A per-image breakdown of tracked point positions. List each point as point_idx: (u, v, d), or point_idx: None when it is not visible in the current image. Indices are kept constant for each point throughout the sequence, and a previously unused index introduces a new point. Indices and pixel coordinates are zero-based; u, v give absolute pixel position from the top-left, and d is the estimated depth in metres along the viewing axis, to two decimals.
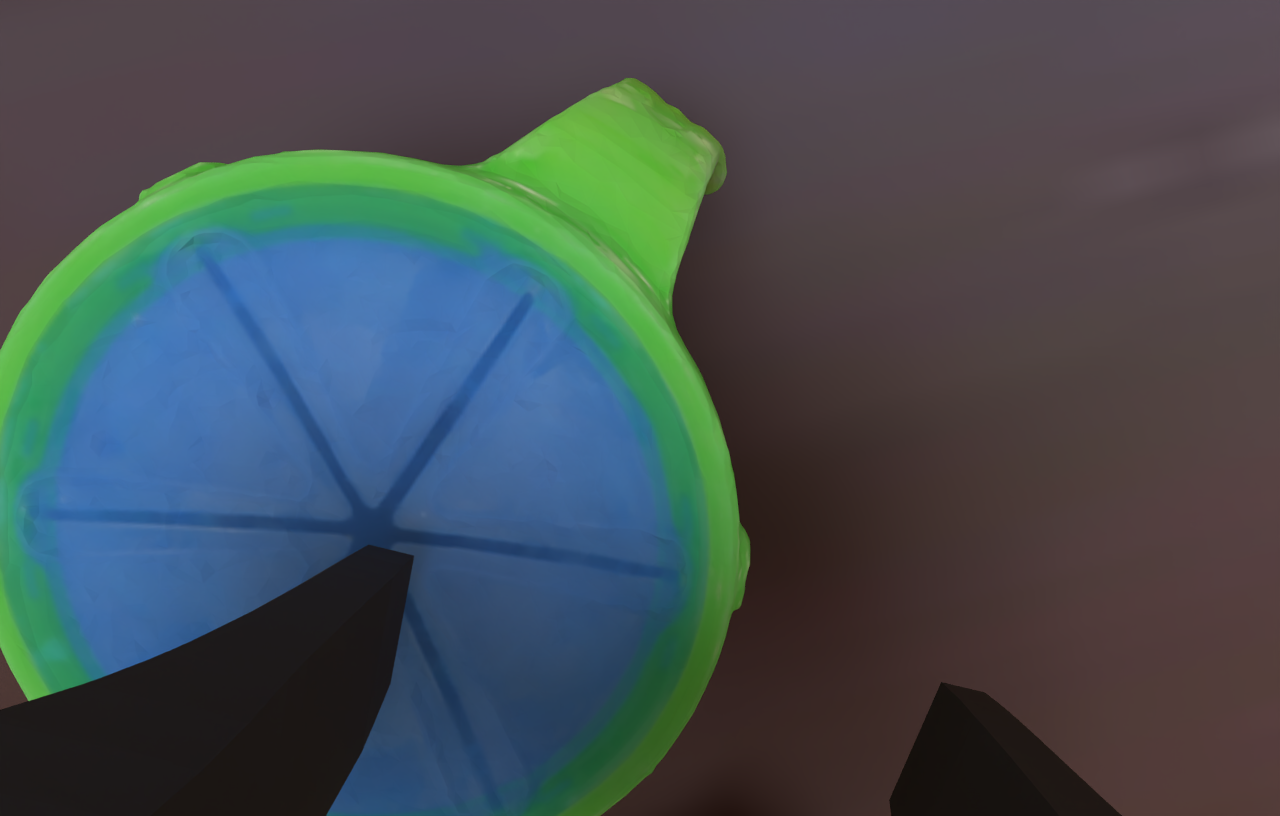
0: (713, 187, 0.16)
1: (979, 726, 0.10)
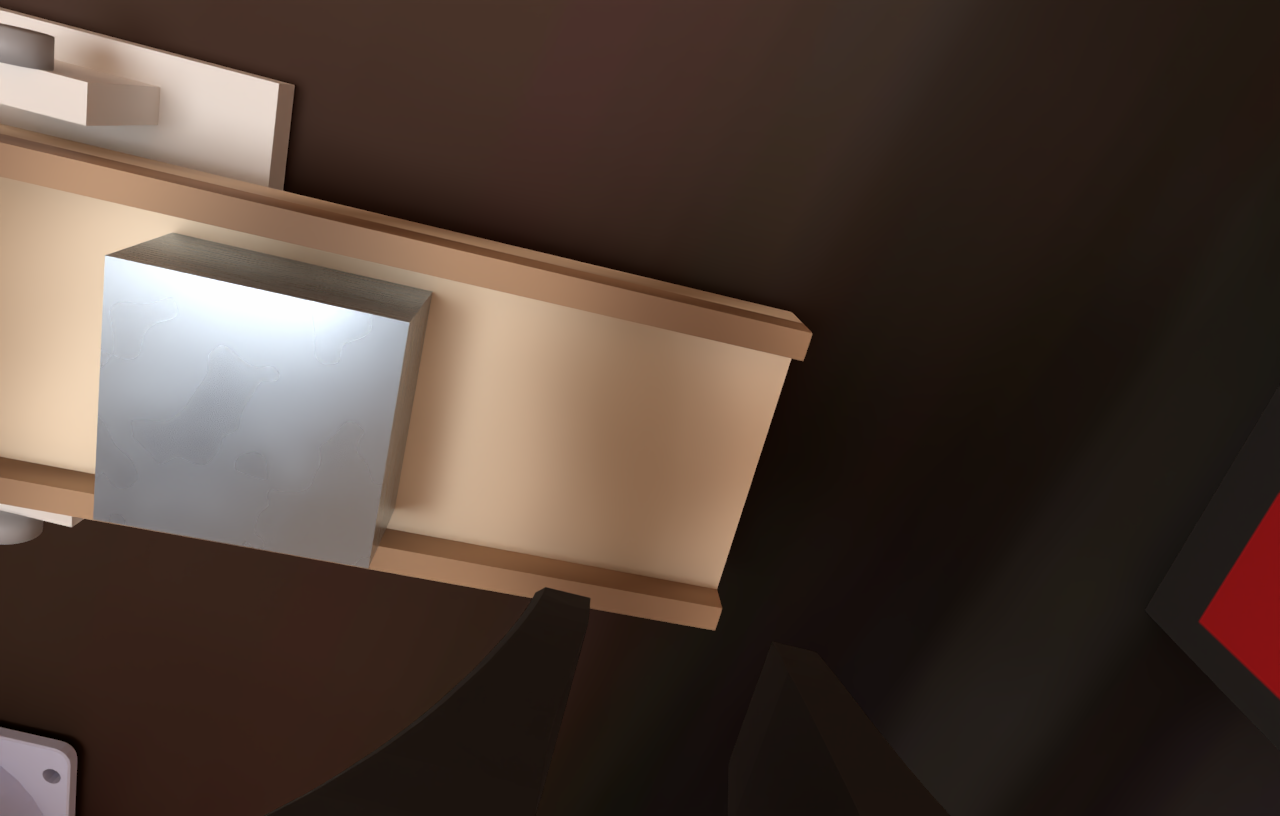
0: None
1: (791, 681, 0.10)
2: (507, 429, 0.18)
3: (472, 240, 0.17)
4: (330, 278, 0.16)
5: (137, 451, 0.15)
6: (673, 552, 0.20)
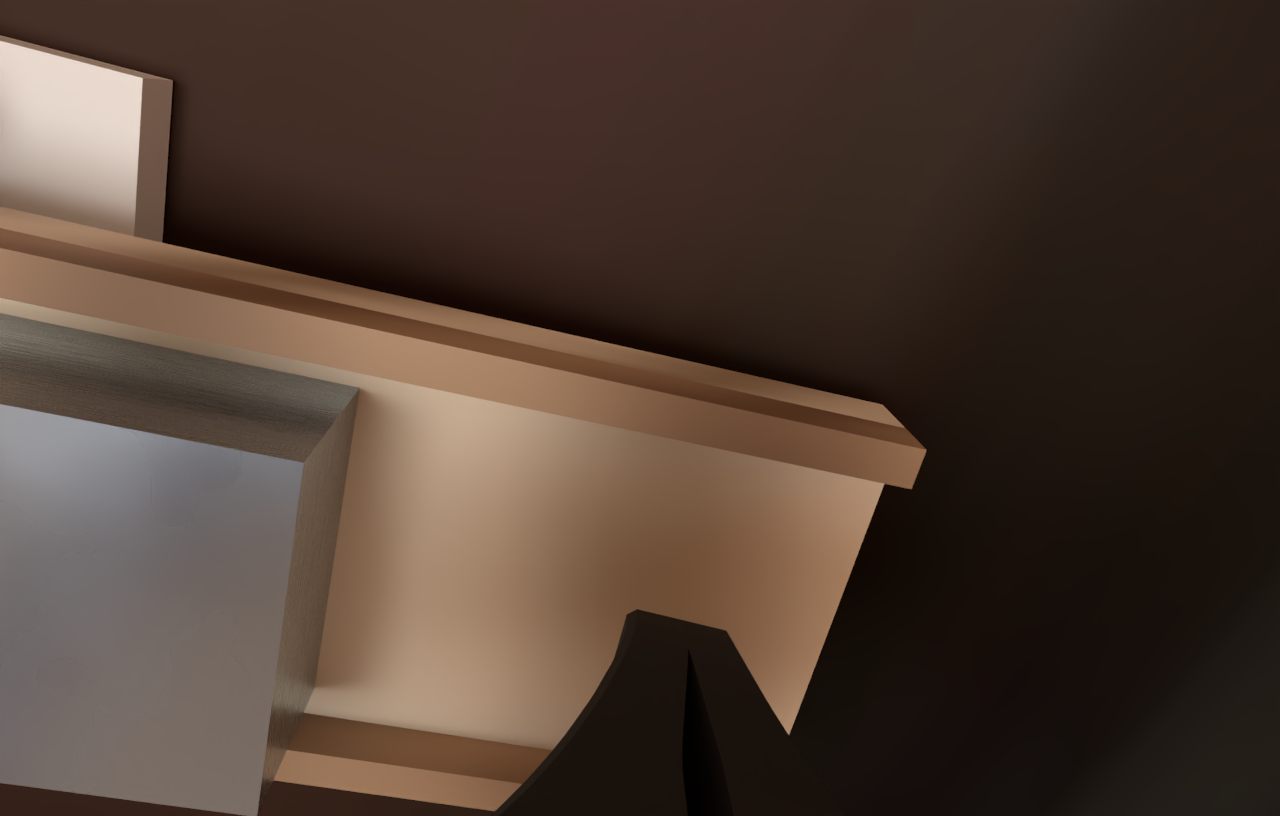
0: None
1: (690, 657, 0.10)
2: (474, 578, 0.13)
3: (420, 310, 0.12)
4: (195, 376, 0.10)
5: None
6: None
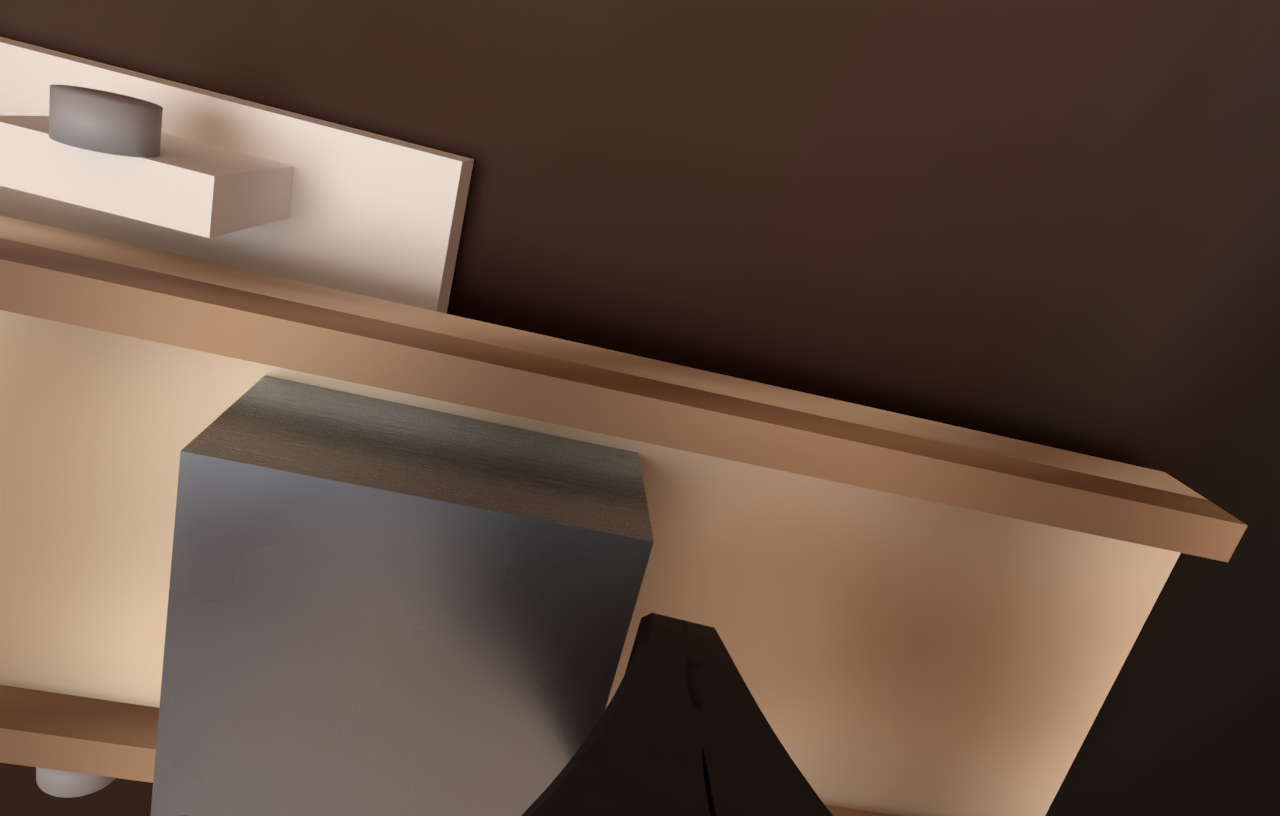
0: None
1: None
2: (782, 645, 0.13)
3: (753, 391, 0.12)
4: (504, 447, 0.11)
5: (221, 730, 0.10)
6: (984, 792, 0.14)
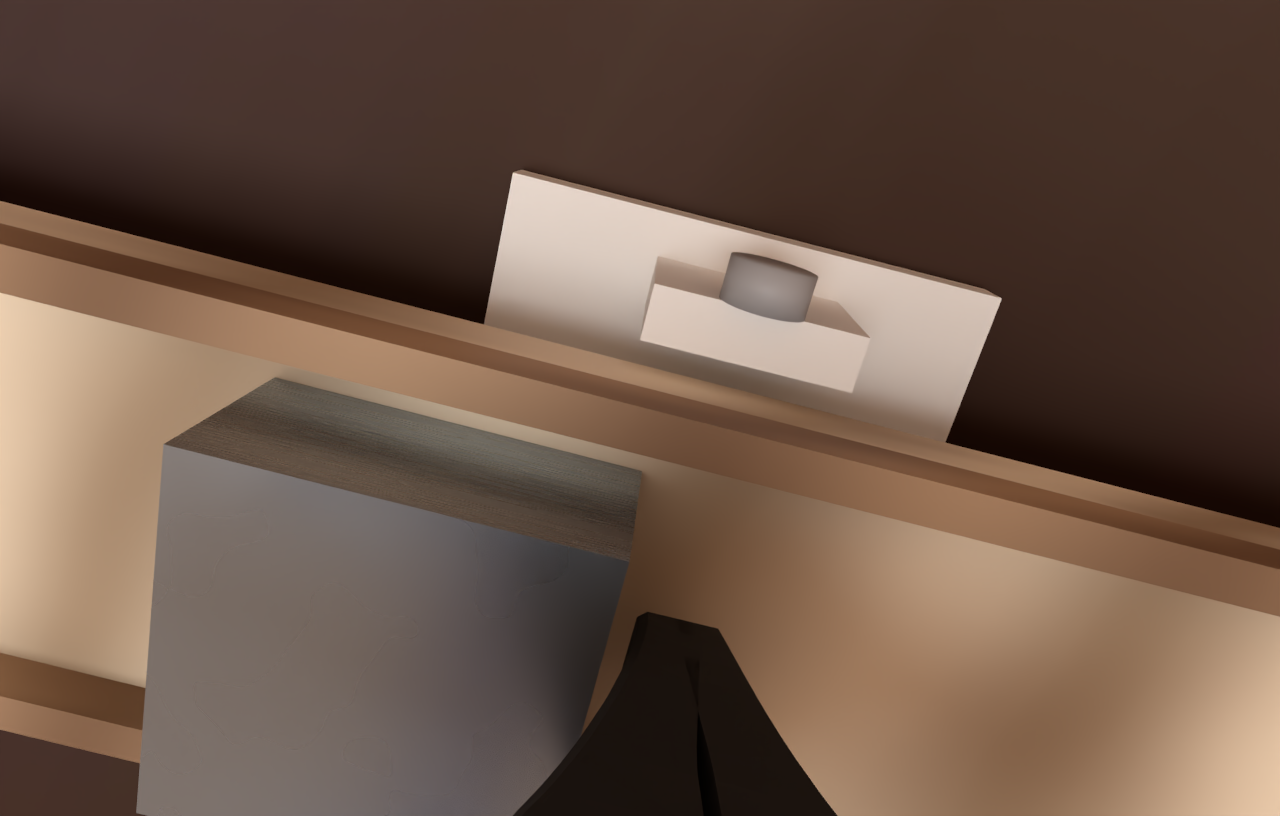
0: None
1: None
2: None
3: None
4: (497, 458, 0.11)
5: (202, 725, 0.10)
6: None
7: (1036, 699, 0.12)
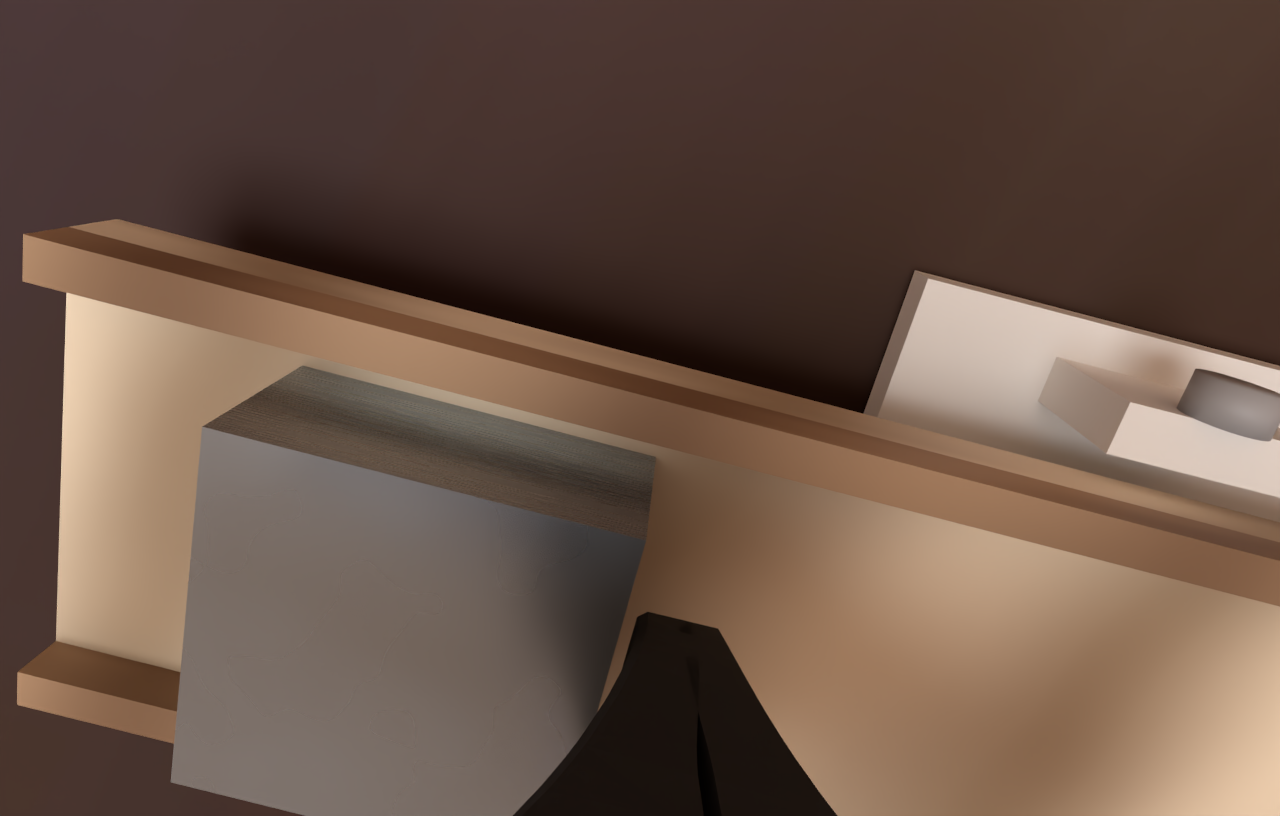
0: None
1: None
2: None
3: None
4: (517, 443, 0.11)
5: (235, 697, 0.10)
6: None
7: None
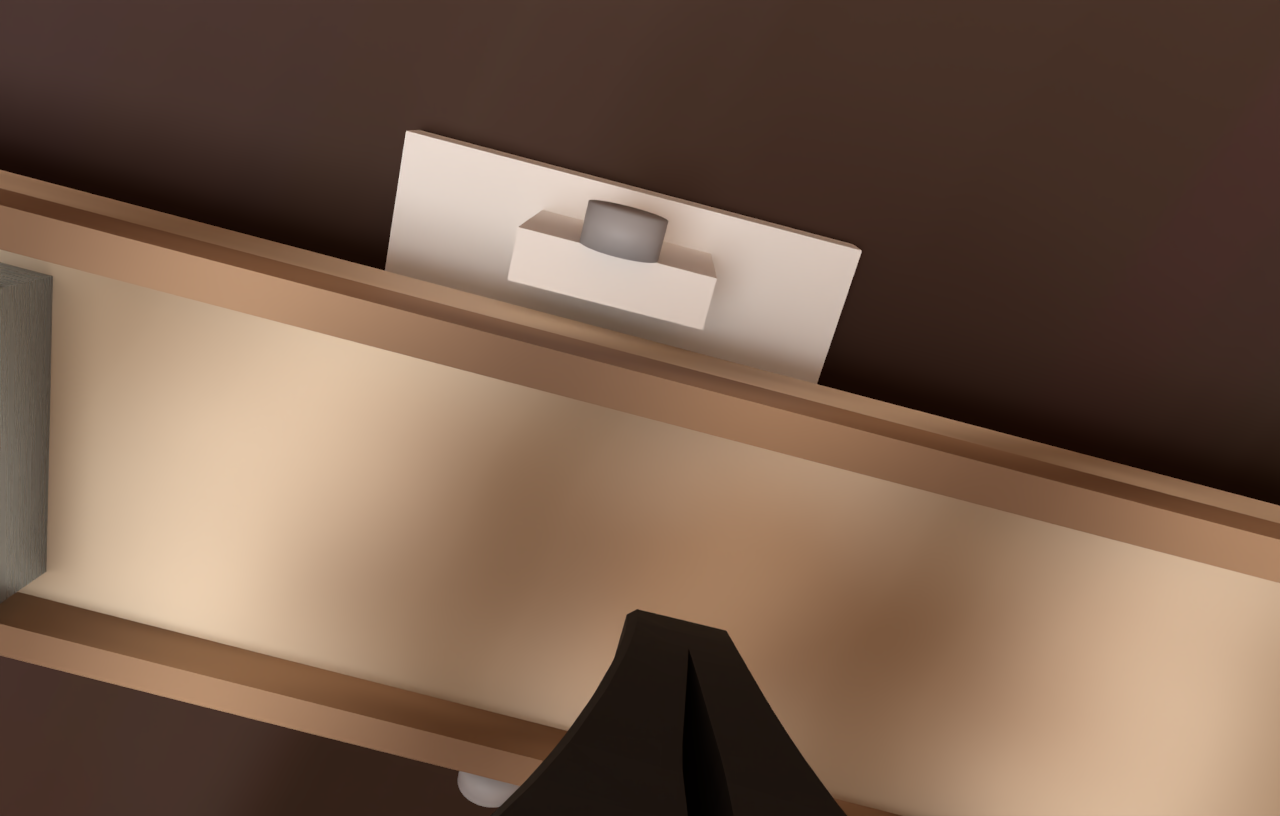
0: None
1: (691, 657, 0.10)
2: (1179, 731, 0.13)
3: (1179, 488, 0.13)
4: None
5: None
6: None
7: (874, 615, 0.13)
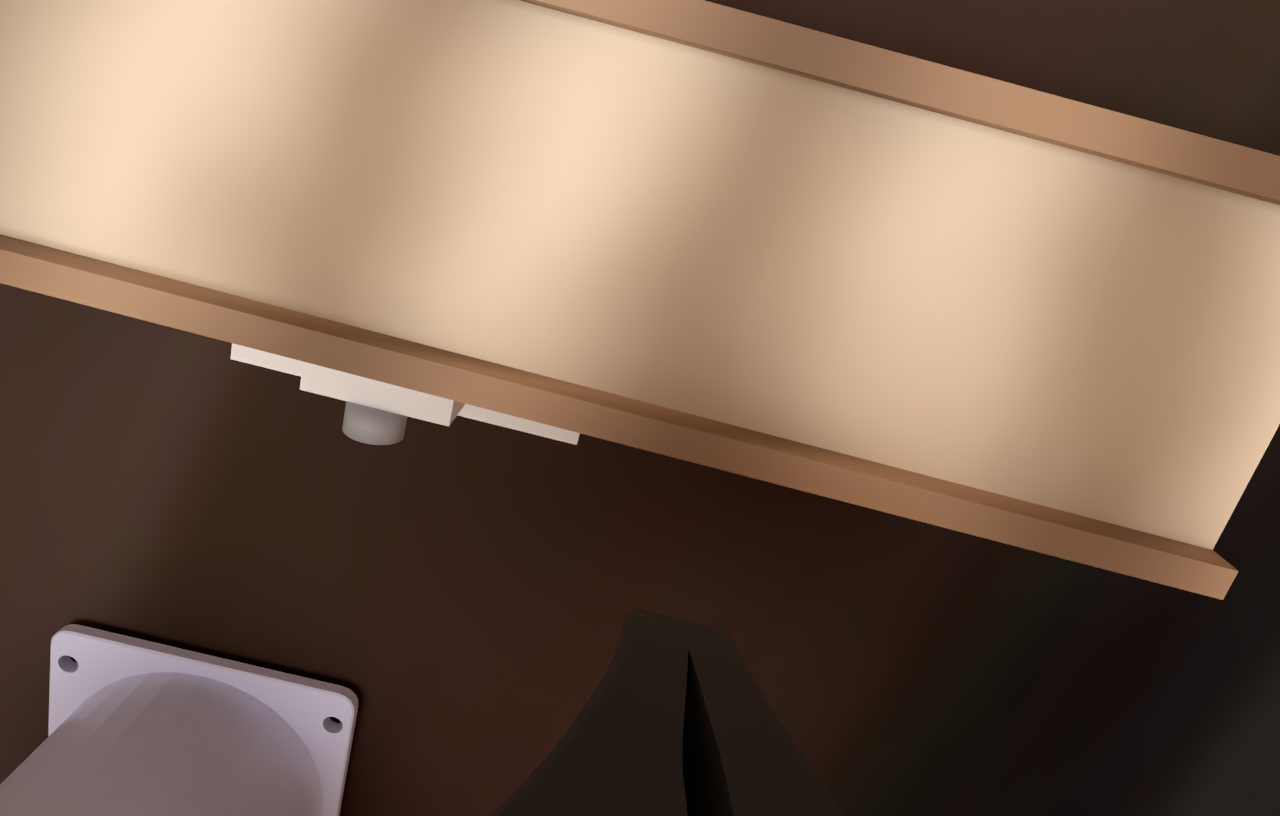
0: None
1: (691, 657, 0.10)
2: (984, 326, 0.15)
3: None
4: None
5: None
6: (1165, 497, 0.16)
7: (702, 212, 0.14)
